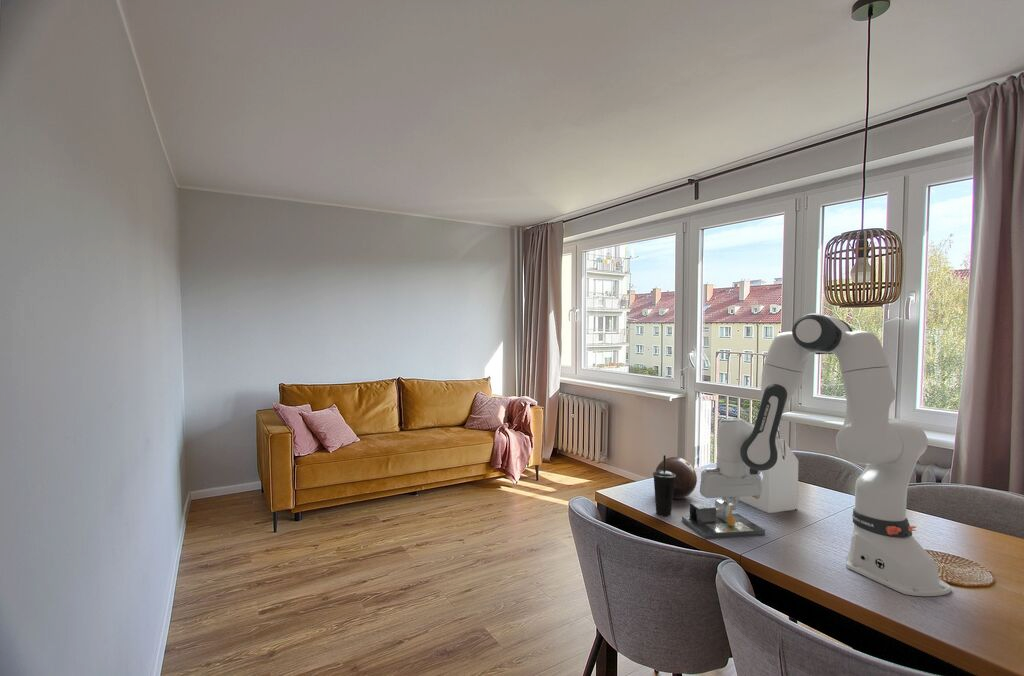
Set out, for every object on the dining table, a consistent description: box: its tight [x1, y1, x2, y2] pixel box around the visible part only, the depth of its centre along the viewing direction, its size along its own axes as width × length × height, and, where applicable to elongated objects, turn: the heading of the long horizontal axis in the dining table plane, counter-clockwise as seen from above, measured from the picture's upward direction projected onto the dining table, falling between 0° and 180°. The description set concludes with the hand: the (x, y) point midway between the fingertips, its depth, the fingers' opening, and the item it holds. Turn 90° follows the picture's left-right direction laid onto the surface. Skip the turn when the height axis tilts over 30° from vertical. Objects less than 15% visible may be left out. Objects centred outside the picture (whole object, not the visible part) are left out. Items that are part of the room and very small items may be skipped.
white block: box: [696, 499, 736, 524], centre depth 161 cm, size 9×10×5 cm
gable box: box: [739, 422, 799, 514], centre depth 185 cm, size 22×13×28 cm, turn 18°
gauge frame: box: [681, 501, 766, 540], centre depth 160 cm, size 14×20×6 cm
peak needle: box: [727, 505, 735, 526], centre depth 157 cm, size 2×1×6 cm, turn 9°
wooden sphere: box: [655, 456, 698, 500], centre depth 188 cm, size 15×15×15 cm
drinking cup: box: [652, 454, 676, 517], centre depth 171 cm, size 8×8×20 cm
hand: (730, 509), depth 164 cm, fingers closed
